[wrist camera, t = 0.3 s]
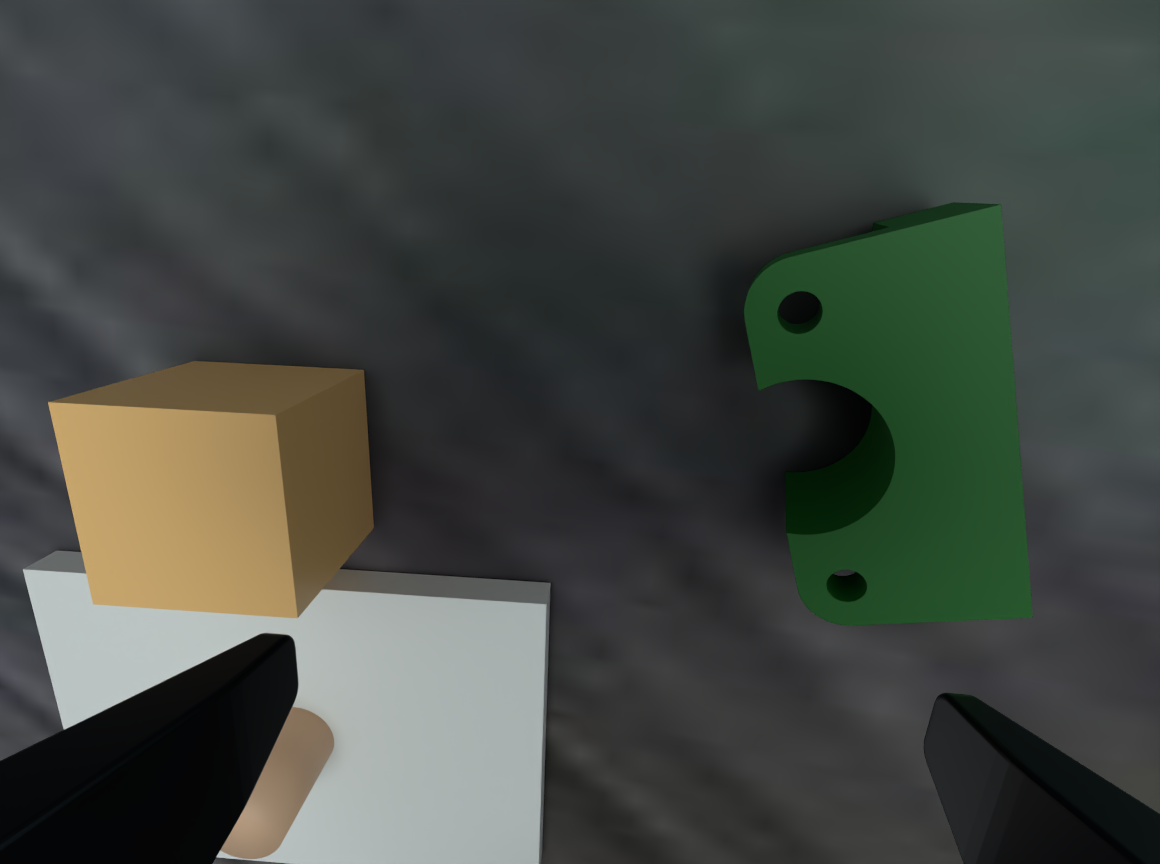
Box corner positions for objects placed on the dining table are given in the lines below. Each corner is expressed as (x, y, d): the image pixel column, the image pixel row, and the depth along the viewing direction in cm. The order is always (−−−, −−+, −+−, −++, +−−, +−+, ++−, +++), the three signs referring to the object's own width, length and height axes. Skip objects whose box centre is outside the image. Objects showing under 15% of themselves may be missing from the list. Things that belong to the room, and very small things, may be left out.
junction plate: (542, 851, 28) (525, 991, 23) (119, 817, 29) (10, 944, 24) (550, 582, 24) (532, 678, 19) (56, 550, 25) (-93, 633, 20)
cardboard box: (374, 527, 24) (297, 618, 18) (217, 517, 24) (92, 604, 18) (364, 369, 22) (275, 414, 16) (194, 360, 22) (48, 402, 16)
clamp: (758, 294, 25) (724, 207, 16) (925, 256, 23) (985, 131, 14) (808, 597, 23) (800, 671, 15) (990, 586, 21) (1098, 666, 13)
